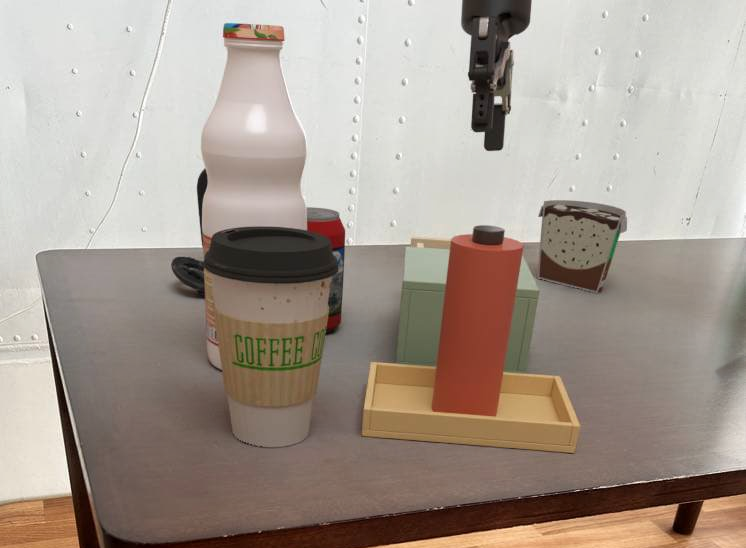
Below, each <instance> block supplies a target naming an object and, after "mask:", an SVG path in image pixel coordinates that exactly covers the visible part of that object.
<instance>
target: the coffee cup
mask: <svg viewBox="0 0 746 548" xmlns="http://www.w3.org/2000/svg"><path fill="white" fill-rule="evenodd" d="M202 262H203V266H204V268H205V269H206V270H207V271H209V272H210V277H211V283H212V290H213V297H214V302H213V304H212V305H213V312H214V319H215V326H216V332H217V339H218V346H219V353H220V360H221V366H222V370H221V373H222V380H223V385H224V386H223V387H224V392H225V393H226V395H227V402H228V409H229V416H230V423H231V424H230V425H231V431H232V435H233V434H234V435H235V436H234V435H233V436H234V438H236V437H237V438H238V439H239V440H238V439H237V438H236V439H237V440H238V441H240V440H241V441H240V442H242V441H243V442H242V443H244V442H246V443H245V444H247V443H249V444H248V445H250V444H252V445H251V446H254V445H257V446H256V447H260V446H262V447H261V448H281V447H282V448H283V447H288V446H293V445H296V444H298V443H301V442H303V441H304V440H306V439H307V438H308V436H309V432H310V424H311V418H312V411H313V405H314V398H315V395H316V394H317V392H318V391H317V390H318V384H319V378H320V371H321V365H322V359H323V351H324V346H325V340H326V333H327V332H326V327H327V321H328V314H329V306H328V299H329V292H330V286H331V279H332V276H333V275H335V274H336V273H337V272H338V269H339V268H338V264H337V263H338V261H337V258H336V257H335V256H334V255H333V252H332V247H331V242H330V240H329V238H327V237H326V236H324V235H321V234H319V233H315V232H312V231H307V230H302V229H295V228H285V227H267V226H256V227H239V228H231V229H226V230H222V231H219V232H217V233H215V234H213V236H212V239H211V244H210V248H209V251H207V252H206V254H205V256H204V255H203V261H202Z"/></svg>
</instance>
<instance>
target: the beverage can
mask: <svg viewBox="0 0 746 548" xmlns="http://www.w3.org/2000/svg"><path fill="white" fill-rule="evenodd" d="M306 208H307V231H312V232H315V233H319V234H321V235H324V236H326V237H327V238H329V240H330V242H331V247H332V252H333V255H334V256H335V257H336V258H337V261H338V263H337V264H338V268H339V269H338V272H337V273H336V274H335V275H333V276H332V279H331V286H330V292H329V299H328V306H329V314H328V321H327V327H326V333H329V332H331V331H332V330H334V329H335V328H337V327H338V326H339V325H340V324H341V323H342V312H343V311H342V309H343V308H342V307H343V295H344V294H343V293H344V292H343V291H344V276H345V275H344V274H345V254H346V253H345V252H346V251H345V250H346V229H345V226H344V224H343V222H342V220H341V217H340V212H339V211H338V210H334V209H330V208H325V207H313V206H312V207H309V206H306Z"/></svg>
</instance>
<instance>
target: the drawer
mask: <svg viewBox="0 0 746 548" xmlns="http://www.w3.org/2000/svg"><path fill="white" fill-rule="evenodd" d="M451 239H452V238H448V237H447V238H446V237H445V238H443V237H431V236H419V235H418V236H416V235H411V236H410V245H409V247H421V248H435V249H449V250H450V244H451Z"/></svg>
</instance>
